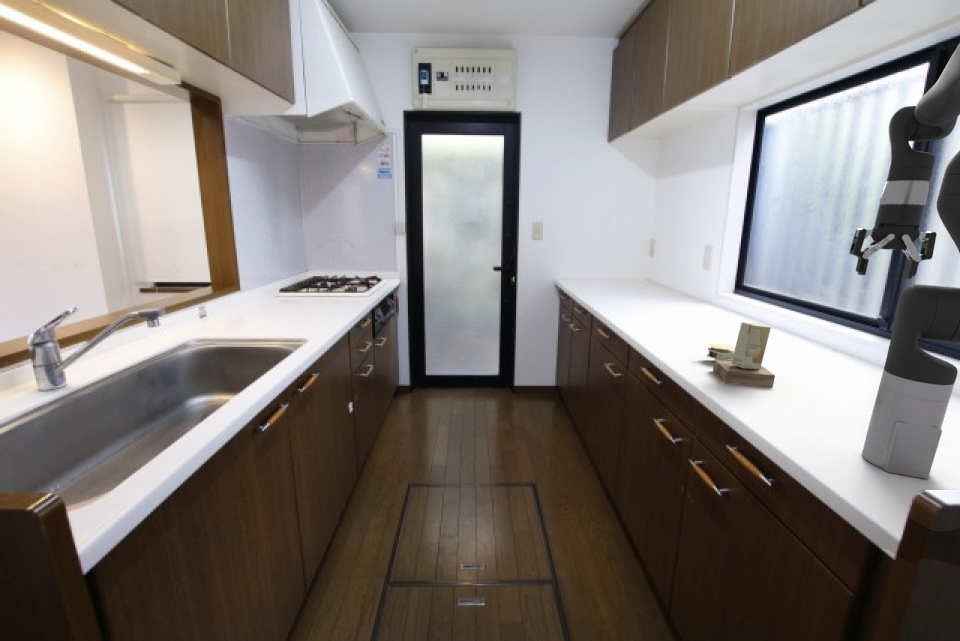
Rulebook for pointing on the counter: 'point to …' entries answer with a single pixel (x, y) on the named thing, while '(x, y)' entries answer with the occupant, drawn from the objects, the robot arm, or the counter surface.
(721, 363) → the walnut block
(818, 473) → the counter surface
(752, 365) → the skincare box
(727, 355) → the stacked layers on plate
